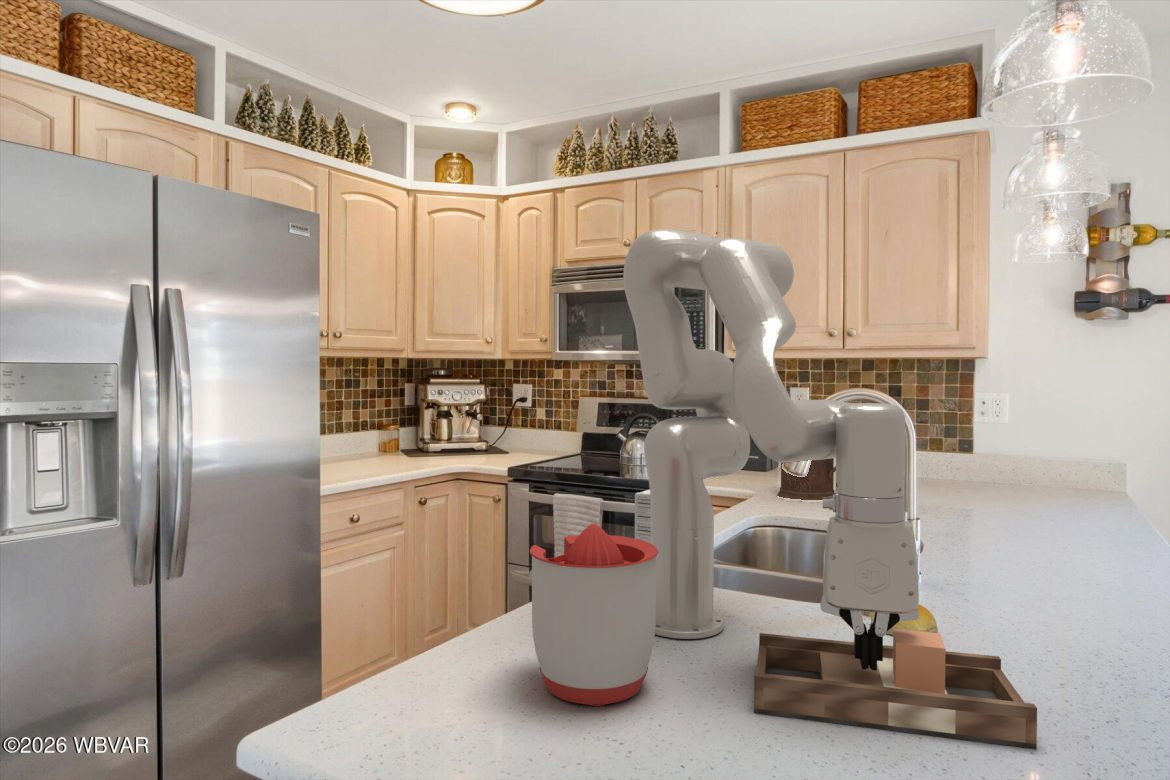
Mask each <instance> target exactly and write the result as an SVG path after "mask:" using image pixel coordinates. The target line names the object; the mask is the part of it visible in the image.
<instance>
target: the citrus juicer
mask: <svg viewBox="0 0 1170 780" xmlns="http://www.w3.org/2000/svg"><path fill="white" fill-rule="evenodd" d="M563 541H564V542H563V554H560V555H557V556H554V557H548V558H547V550H546V549H545V548H542V547H540V546H538V545H536V544H533V545H532V546H531V547H530V549H529V554H530V555H531V569H530V571H529V572H528V578H529V580H531V624H532V638H533V644H534V648H535V649H534V650H535V654H536V658H537V661H538V664H539V671H540V673H541V676H542V679H543V682H544V683H545V686H546V688H547V690H548V691H549V692H550V694H552V695H554V696H555V697H557V698H559V699H561V700H562V701H563V700H564V701H567V702H570V703H576V704H581V705H591V706H593V707H602V706H606V705H608V704H614V703H618V702H623V701H625V700H629V699H630V698H632V697H634V696H635V695H636V694H637V693H639V691H640V690H641V688H642V685H643V684H644V681H645V680H646V679H645V678H646V676H647V674H648V670H649V664H650V660H651V656H652V652H653V647H654V642H655V636H656V634H655V624H656V556H657V554H658V550H657V548H656V547H655V546H654V545H653V544H651V543H648V542H646V541H643V540H639V539H635V537H634V538H633V537H630V536H629V537H628V536H621V535H609V534H608V533H607V532H606V531H605V530H604V529H603V528H602V527H601V526H600V525H599V524H597V523H591V524H589V525H588V526H587V527H586V528H584V530H583V531H582V532H581V533H580V534H575V535H568V536H567V535H566V536H564V540H563Z"/></svg>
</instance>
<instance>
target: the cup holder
mask: <svg viewBox="0 0 1170 780" xmlns="http://www.w3.org/2000/svg"><path fill="white" fill-rule="evenodd" d="M834 461H835V458H832V459H823V460H812V461H811V465H810V468H809V472H808V474H807V476H805V477H797V476H793V475H791V474H789V473H786V472H785V471H784V470H783V469H782V464H783V462H780V487H779V490H778V493H777V494H776V497H777V496H779V497H783V498H790V499H801V500H823V497H829V496H832V497H833V495H835V491H836V490H835V489H834V485H835V484H834V481H835V480H834V479H835V478H834V476H835V475H834V473H836V465H834V463H835V462H834Z"/></svg>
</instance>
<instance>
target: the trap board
mask: <svg viewBox="0 0 1170 780" xmlns="http://www.w3.org/2000/svg"><path fill="white" fill-rule="evenodd" d="M758 638H759V640H758V641H759V642H758V653H757V660H756V661H757V662H756V669H755V672H754V675H753V676H754V677H753V678H754V682H753V683H754V686H753V689H754V691H753V693H754V695H753V699H754V700H753V703H754V704H753V713H754V714H761V715H768V716H776V717H784V718H794V719H799V720H808V721H815V722H816V721H817V722H823V723H830V724H831V723H832V724H839V725H846V726H854V727H862V728H870V729H878V730H884V731H885V730H886V731H891V732H892V731H893V732H902V733H908V734H910V733H911V734H917V735H923V736H932V737H939V738H940V737H941V738H948V739H949V738H950V739H954V740H955V739H956V740H963V741H971V742H980V743H986V744H993V745H994V744H996V745H1000V746H1001V745H1003V746H1009V747H1010V746H1011V747H1017V748H1026V749H1033V750H1037V742H1038V734H1037V733H1038V707H1037V706H1036V704H1034V703H1029V702H1025V701H1024V700H1023V698H1022V696H1020V694H1019V693H1018V691H1017V690H1016V689H1015V687H1014V686H1013V684H1012V682H1011V681H1010V680H1009V679H1008V677H1007V676H1006V674H1005V673H1004V672H1003V670H1002V659H1001V658H1000V656H997V655H987V654H980V653H979V654H977V653H967V652H957V651H946V650H945V694H943V693H934V692H927V691H920V690H913V689H906V688H898V687H895V681H894V674H893V645H884V644H883V661H877V671H875V670H872V669H870V667H869V669H867V670H865V669H862V667H861V663H860V659H855V656H854V641H845V640H836V639H834V640H833V639H824V638H815V637H804V636H793V635H785V634H774V633H773V634H772V633H763V632H760V633H759V637H758Z"/></svg>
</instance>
